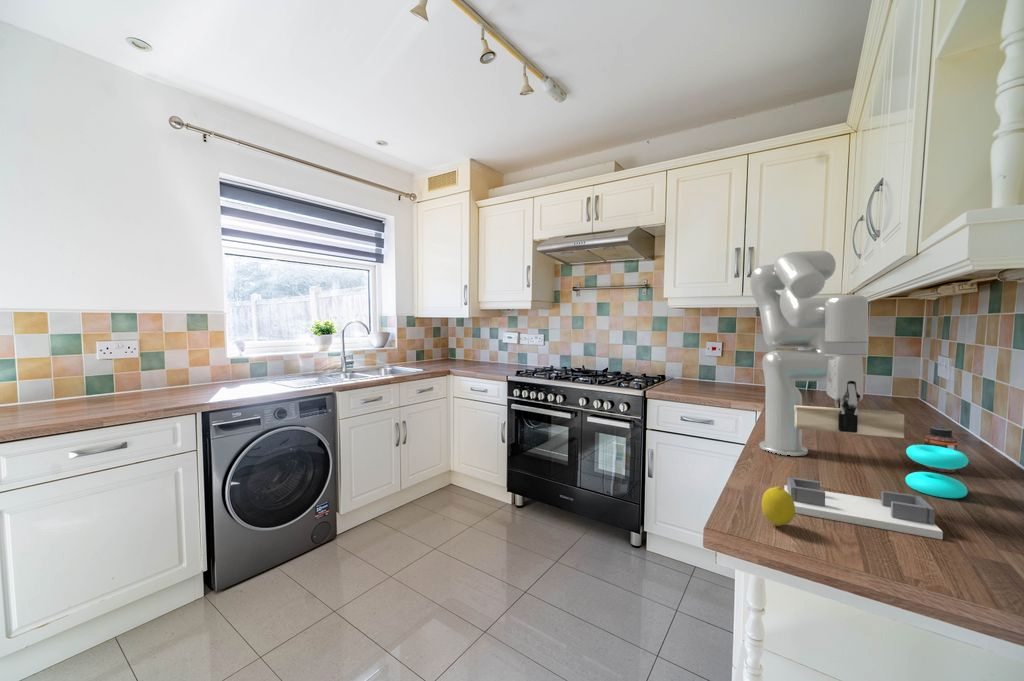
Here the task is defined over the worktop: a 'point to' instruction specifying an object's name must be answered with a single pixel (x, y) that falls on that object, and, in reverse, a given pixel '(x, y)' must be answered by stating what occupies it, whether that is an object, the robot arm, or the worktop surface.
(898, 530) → the board
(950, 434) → the supplement bottle
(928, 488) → the donuts
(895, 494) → the end caps
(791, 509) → the lemon
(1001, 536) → the worktop surface
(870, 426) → the slat
